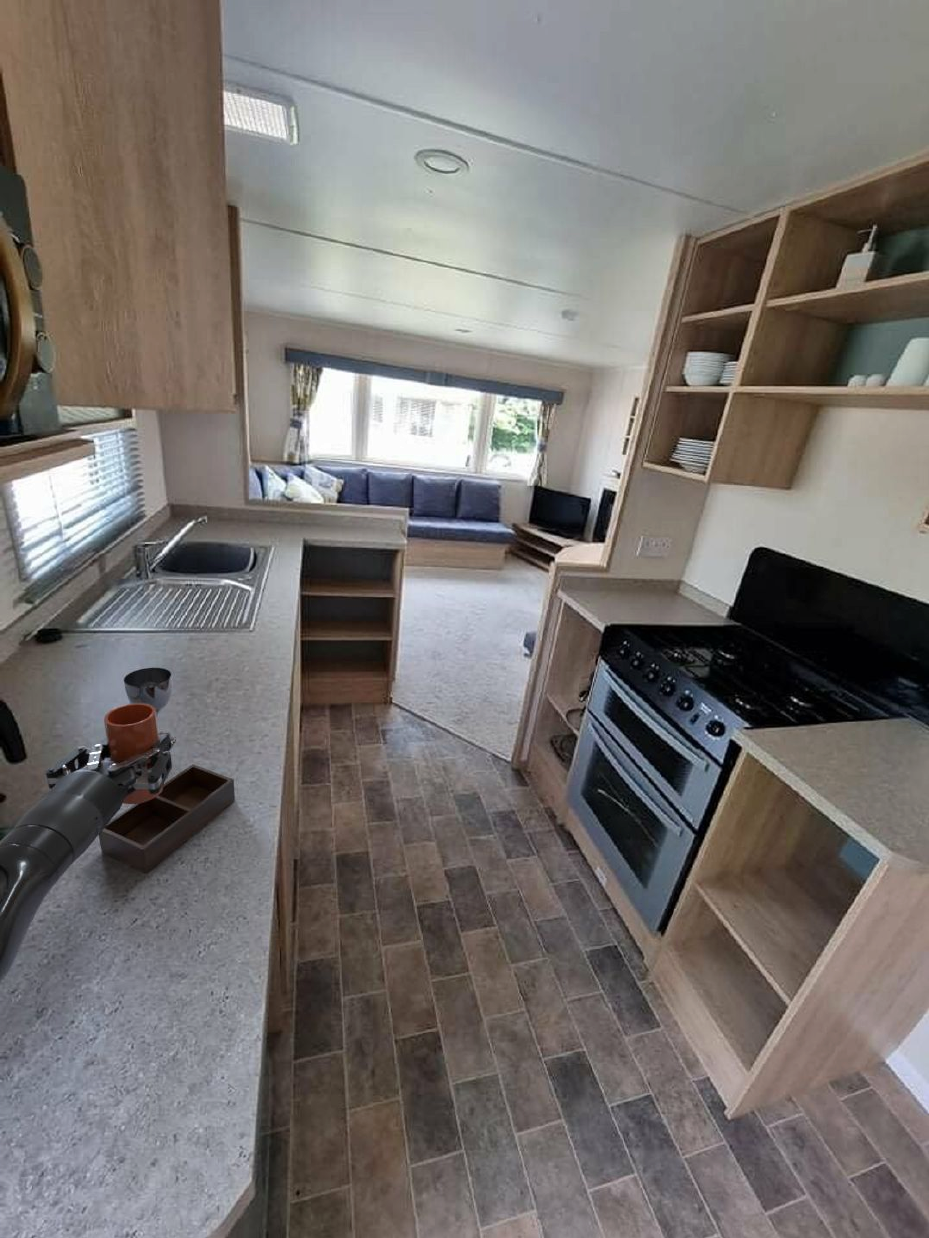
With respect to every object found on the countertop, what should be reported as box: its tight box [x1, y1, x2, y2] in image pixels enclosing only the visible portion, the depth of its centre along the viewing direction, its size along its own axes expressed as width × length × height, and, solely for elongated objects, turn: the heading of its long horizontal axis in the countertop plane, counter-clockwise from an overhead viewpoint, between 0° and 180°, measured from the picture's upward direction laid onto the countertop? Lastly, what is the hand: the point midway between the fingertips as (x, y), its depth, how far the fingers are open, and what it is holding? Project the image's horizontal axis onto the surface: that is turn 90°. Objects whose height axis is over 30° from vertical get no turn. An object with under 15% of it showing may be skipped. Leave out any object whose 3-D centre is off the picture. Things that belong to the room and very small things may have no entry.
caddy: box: [98, 763, 236, 874], centre depth 85 cm, size 9×18×5 cm, turn 160°
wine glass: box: [123, 667, 174, 741], centre depth 102 cm, size 8×8×15 cm
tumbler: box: [103, 703, 165, 805], centre depth 74 cm, size 6×6×13 cm
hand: (143, 738), depth 76 cm, fingers closed on tumbler, 6 cm apart
